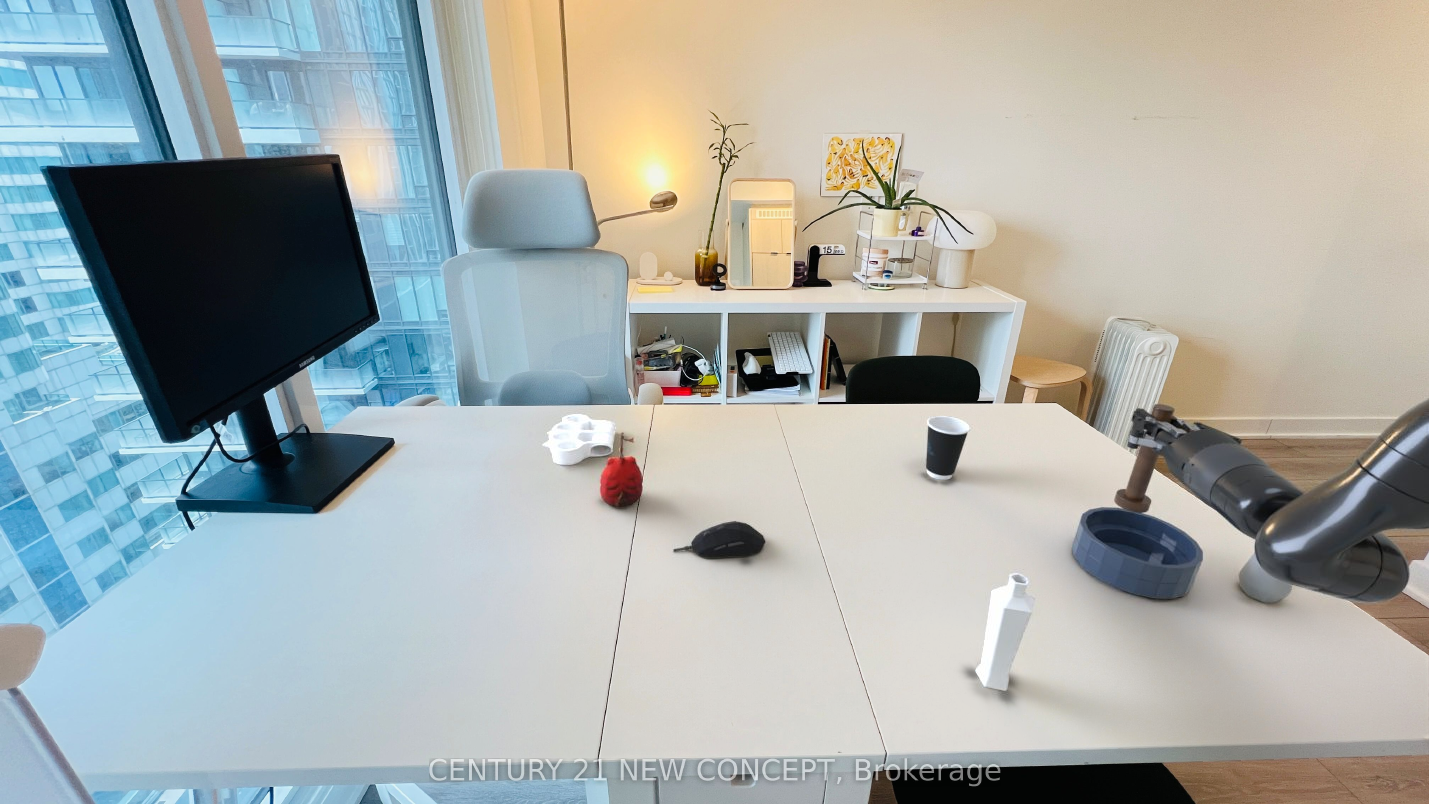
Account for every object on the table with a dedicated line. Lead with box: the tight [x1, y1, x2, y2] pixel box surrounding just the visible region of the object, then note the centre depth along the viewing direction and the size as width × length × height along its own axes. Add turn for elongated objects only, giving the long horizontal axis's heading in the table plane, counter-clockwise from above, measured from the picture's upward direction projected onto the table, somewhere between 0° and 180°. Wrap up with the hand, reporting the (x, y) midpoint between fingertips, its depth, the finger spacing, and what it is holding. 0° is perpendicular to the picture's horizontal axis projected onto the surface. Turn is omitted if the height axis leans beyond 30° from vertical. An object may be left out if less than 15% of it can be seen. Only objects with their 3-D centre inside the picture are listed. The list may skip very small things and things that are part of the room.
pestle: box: [1113, 403, 1176, 514], centre depth 86 cm, size 4×4×16 cm
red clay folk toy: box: [599, 432, 644, 509], centre depth 105 cm, size 8×7×15 cm
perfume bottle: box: [975, 572, 1036, 692], centre depth 70 cm, size 5×4×15 cm
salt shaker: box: [1238, 552, 1293, 604], centre depth 85 cm, size 6×6×13 cm
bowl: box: [1071, 506, 1204, 600], centre depth 92 cm, size 16×16×6 cm
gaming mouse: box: [672, 520, 766, 559], centre depth 95 cm, size 6×15×4 cm, turn 99°
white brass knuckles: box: [542, 413, 617, 466], centre depth 128 cm, size 3×18×15 cm
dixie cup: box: [925, 415, 971, 481], centre depth 117 cm, size 8×8×11 cm
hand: (1148, 415), depth 87 cm, fingers closed on pestle, 2 cm apart
